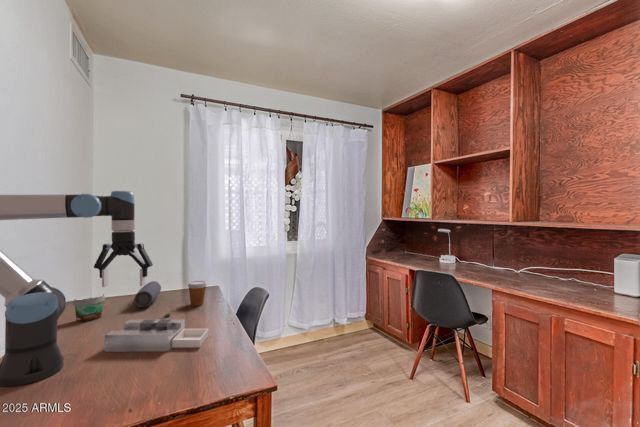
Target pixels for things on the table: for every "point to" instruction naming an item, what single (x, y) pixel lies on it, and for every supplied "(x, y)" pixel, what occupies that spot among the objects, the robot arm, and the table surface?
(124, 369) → the table surface
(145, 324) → the dark gray cube
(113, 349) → the slot block
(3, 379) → the robot arm
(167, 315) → the tomahawk
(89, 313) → the food container
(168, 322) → the dark grey cube
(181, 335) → the tray
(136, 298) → the bluetooth speaker
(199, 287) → the disposable coffee cup
